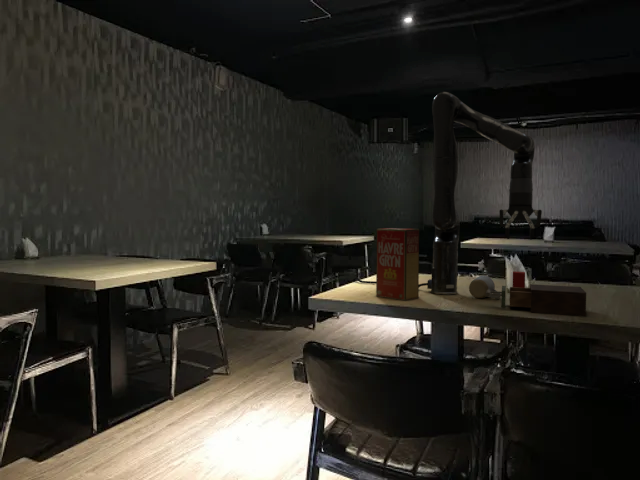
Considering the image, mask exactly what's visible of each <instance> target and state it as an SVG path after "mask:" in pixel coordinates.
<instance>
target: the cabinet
mask: <svg viewBox="0 0 640 480" xmlns="http://www.w3.org/2000/svg"><path fill="white" fill-rule="evenodd" d="M529 288H530V289H531V308H529V310H530V313H535V314H550V315H563V316H575V317H577V316H579V317H586V316H587V292H586V291H585V289H583V288H582V287H581V286H572V285H571V286H570V285H569V286H568V285H553V284H552V285H549V284H535V283H534V284H532V283H530V284H529Z"/></svg>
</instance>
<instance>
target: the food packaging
mask: <svg viewBox="0 0 640 480" xmlns="http://www.w3.org/2000/svg"><path fill="white" fill-rule="evenodd" d="M375 231H376V237H375V239H376V240H375V241H376V243H375V245H376V246H375V247H376V250H375V251H376V267H375V268H376V270H375V271H376V274H375V275H376V276H375V277H376V278H375V279H376V280H375V281H376V285H375V297H377V298H384V299H391V300H397V301H398V300H399V301H403V302H407V301H412V300H416V299H418V298H420V297H419V294H420V293H419V291H420V287H419V284H420V283H419V281H420V280H419V279H420V228H398V227H397V228H395V227H386V228H385V227H383V228H376V230H375Z"/></svg>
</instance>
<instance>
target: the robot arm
mask: <svg viewBox="0 0 640 480" xmlns="http://www.w3.org/2000/svg"><path fill="white" fill-rule="evenodd" d="M431 111H432V121H433V160H432V161H433V162H432V167H433V170H432V172H433V188H434V190H433V191H434V196H433V205H432V215H431V217H432V218H431V220H432V224H433V226H434V237H433V242H432V267H431V278H429V279H427V281H426V282H424V283H419V288H420V287H424V286H427V288H426V289H427V290H431V291H430V293H431V294H436V295H446V296H448V295H451V296H452V295H457V294H458V261H459V259H458V258H459V241H460V226H461V225H460V223H461V222H460V220H461V219H460V213H459V212H458V210H457V209H456V201H455V191H456V186H457V181H458V175H459V160H460V159H459V158H460V157H459V148H458V144H457V141H456V136H455V132H454V131H455V130H454V122H455V123H458V124H461V125H463V126H465V127H467V128H469V129H471V130H473V131H474V132H476V133H477V134H479V135H481V136H482V137H484V138H486V139H488V140H490V141H492V142H494V143H496V144H499V145H501V146H502V147H505V148H506V149H508V150H509V151H511V152H513V162H512V163H511V166H510V176H509V177H510V179H509V186H508V187H509V188H508V208H507V209H499V213H498V214H499V226H500V227H502V228H504V229H505V231H504V232H505V233H504V237H505V238H506V239H507V240H510V230H511V229H510V226H511V225H512V224H513V222H514V221H515V222H519V221H522V222H527V224H528V225H529V241H531V240H533V239H534V238H535V229H538V228H540V227H541V224H542V213H543V210H542V209H534V207H533V191H534V187H533V185H534V184H533V163H534V157H535V149H536V148H535V147H536V144H535V139H533V137H532V136H530V135H528V134H527V133H525V132H523V131H520V130H518V129H516V128H513V127H510V126H509V125H508V124H506V123H504V122H503V121H500V120H498V119H496V118H494V117H492V116H489V115H487V114H483V113H481V112H479V111H476V110H475V109H473V108H471V107H469V105H467V104H465V103H464V102H463V101H462V100H461V99H460V98H459V97H457V96H456V95H455V94H453V93H451V92H448V91H441V92H439V93H437V95H436V96H435V97H434V98H433V101H432V104H431ZM506 214H508V215H509V217H510V218H509V220H508V221H507V223H504V217H505V216H506ZM533 214H534V216H536V221H535V222H536V223H535V224H534V223H533V221H532V220H531V218H530V217H531V215H533ZM356 281H357V282H358V283H361V284H370V285H371V284H372V285H375V284H376V280H375V281H372V280H371V281H370V280H361V279H360V278H359V277H354V278H353V279H352V281H351V282H356Z"/></svg>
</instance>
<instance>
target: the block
mask: <svg viewBox="0 0 640 480" xmlns="http://www.w3.org/2000/svg"><path fill="white" fill-rule="evenodd" d="M511 287H520V288H526V271H517V270H516V271H512V286H511Z"/></svg>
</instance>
